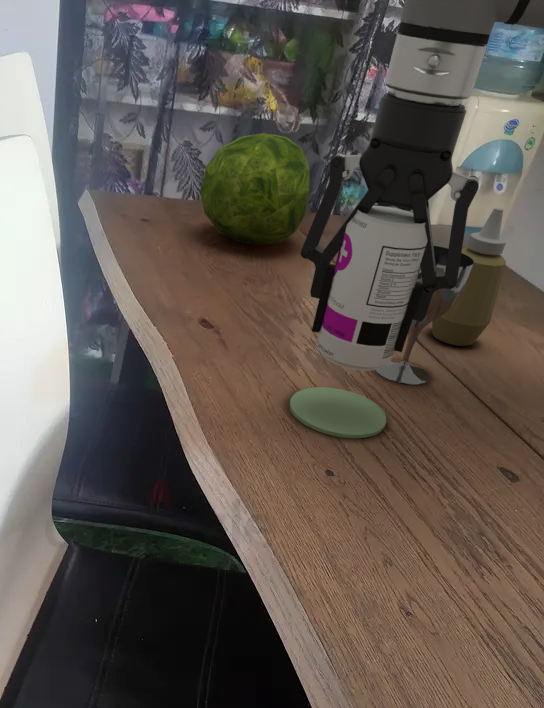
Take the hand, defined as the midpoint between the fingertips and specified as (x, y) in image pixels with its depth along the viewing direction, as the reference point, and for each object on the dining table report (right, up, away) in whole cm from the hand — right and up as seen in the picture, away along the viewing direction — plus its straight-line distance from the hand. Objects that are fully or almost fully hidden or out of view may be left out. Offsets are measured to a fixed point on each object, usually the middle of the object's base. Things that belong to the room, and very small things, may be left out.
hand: (357, 336), depth 79 cm
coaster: (-1, -7, +6) cm, 9 cm away
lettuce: (-5, +32, +58) cm, 66 cm away
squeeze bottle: (+21, +6, +28) cm, 35 cm away
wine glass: (+10, -1, +17) cm, 20 cm away
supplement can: (0, -2, +1) cm, 2 cm away
